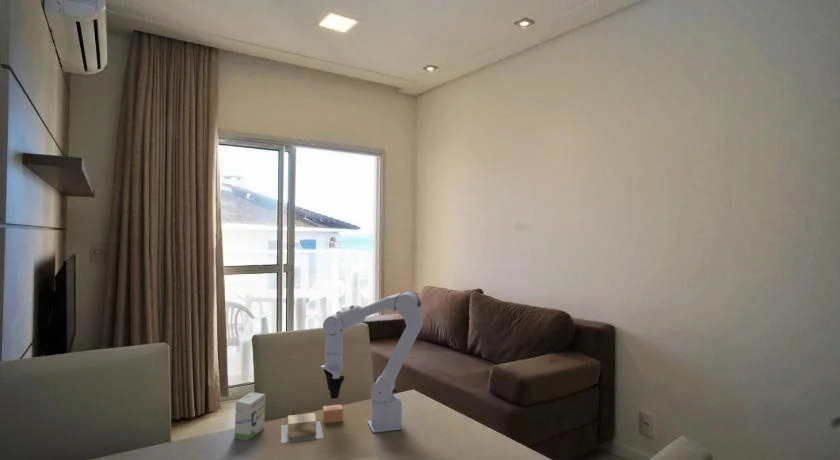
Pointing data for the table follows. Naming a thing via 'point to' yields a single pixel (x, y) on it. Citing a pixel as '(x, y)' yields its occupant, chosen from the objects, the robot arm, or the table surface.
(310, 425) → the maple brick
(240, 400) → the ink box
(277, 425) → the table surface
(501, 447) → the table surface
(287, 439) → the base plate
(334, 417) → the terracotta brick
